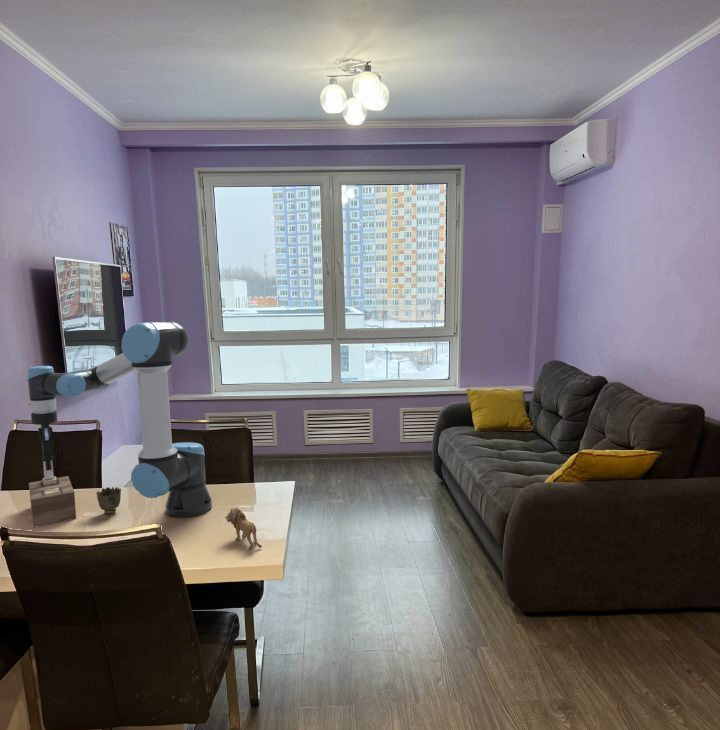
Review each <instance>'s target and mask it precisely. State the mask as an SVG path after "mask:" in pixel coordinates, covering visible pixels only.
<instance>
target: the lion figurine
mask: <svg viewBox="0 0 720 730" xmlns="http://www.w3.org/2000/svg"><path fill="white" fill-rule="evenodd" d="M229 509H230V512H228V513H227V515H226V516H225V517H224V518H225V520H226V522H227V523H230V524H232V526H233V528H234V529H235V533H236V536H237V537H235V541H240V540H241V537H242V538H246V539H247V541H248V543H249V547H248V550H253V549H254V544H256V546H257V547H258V548H262V545H261V544H259V543H258V539H257V526H256V525H255V523H254V522H253V521H249V520H248V519H247V518H246V517H247V516H246V515H245V513H244V512H243V511H242V510H241V509H239V508H237V507H231V508H229ZM240 532H242V535H241V533H240ZM251 535H252V537H253V541H252V538H251Z"/></svg>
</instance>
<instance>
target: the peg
mask: <svg viewBox="0 0 720 730" xmlns="http://www.w3.org/2000/svg"><path fill="white" fill-rule="evenodd" d="M56 478H57V476H56V475H54V478H51V479H45V478H44V477H43V478H42V480H43V486H45V485H51V484H56V483H57V479H56Z"/></svg>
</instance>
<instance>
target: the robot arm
mask: <svg viewBox="0 0 720 730" xmlns="http://www.w3.org/2000/svg"><path fill="white" fill-rule="evenodd" d="M189 342H190V341H189V334H188V332H187V331H186V328H185V327H183V326H182V325H181V324H179V323H177V322H174V321H170V320H169V321H156V322H155V321H154V322H153V321H151V322H149V321H146V322H141V323H135V324H133V325H131V326H129V327H128V329H127V330H126V331H125V332H124V334H123V336H122V338H121V350H122V353H120V354H118V355H116V356H113V357H112V358H110V359H108V360H106V361H104V362H103V363H102V362H101V364H98V365H96V366H95V367H92V368H88V369H85V370H76V371H71V372H60V373H59V372H55V371H54V370H55V369H54V367H53V366H51V365H37V366H31V367H29V368H28V369H27V383H28V394H29V401H30V402H28V404H27V405H28V407H30V412H31V414H30V420H31V425H34V426H35V425H37V426H38V425H39V426H40V427H38V435H39V440H40V442H41V450H42V451H41V452H42V453H41V455H42V459H41V462H42V463H43V464H42V465H43V476H44V477H43V478H45V479H51V478H54V476H55V475H54V465H53V459H54V458H55V455H53V447H52V441H53V427H52V426H50V425H51V424H54V423H56V422H57V421H58V412H57V398H56V397H57V396H58V397H59V396H61V397H68V398H70V397H78V396H81V394H82V393H86V392H90V391H95V390H96V391H97V390H103V389H106V388H108V387H111V386H112V385H113V383H114V382H116V381H119V380H121V379H123V378H125V377H127V376H129V375H132V374H133V373H136V374H137V383H138V398H139V410H140V411H139V414H140V425H141V426H140V427H141V439H142V441H141V442H142V449H141V450H140V451H139V452H138V454H137V458H138V459H137V461H138V463H137V464H136V465H135V466H134V468H133V469H132V471H131V473H130V479H131V483H132V486H133V487H134V489H135V490H136V491H137V492H138V493H139V494H140V495H141V496H143V497H145V498H149V499H155V498H159V497H161V496H165V495H166V494H168V495H167V496H168V497H167V500H166V503H165V514H166V515H168V516H170V517H173V518H191V517H196V515H197V516H200V515H203V514H204V512H205V513H207V512H208V510H209V509H210V508H211V507H212V508H213V503H212V502H213V501H212V497H211V496H210V491H209V489H208V487H207V485H206V484H207V483H206V464H205V463H206V462H205V461H206V459H205V456H206V454H205V448H204V445H202V444H201V443H198V442H189V441H188V442H175V443H173V440H172V439H173V438H172V426H171V425H172V424H171V422H172V421H171V407H170V405H171V404H170V393H169V392H170V390H169V378H168V377H169V375H168V371H169V369H170V368H172V366H173V360H172V359H173V358H175V357H178V356H180V355H182V354H183V353H184V352H185V351H186V350H187V348H188V345H189ZM212 508H211V509H212ZM211 509H210V510H211ZM210 510H209V511H210ZM206 511H207V512H206ZM202 513H203V514H202ZM199 514H200V515H199Z"/></svg>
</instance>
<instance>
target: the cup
mask: <svg viewBox="0 0 720 730" xmlns="http://www.w3.org/2000/svg"><path fill="white" fill-rule="evenodd" d="M95 493H96V497H97V502H98V506H99V508H100V509H101V510H102V511H103V513H104V514H105V515H107V516H108V515H109V516H110V514H111V515H114V514H115V513H117V508H119V506H120V504H121V495H122V488H119V487H117V486H116V487H115V488H114V486H112V487H111V488H110V487H106V488H102V489H101V491H100V490H97V492H95Z"/></svg>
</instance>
